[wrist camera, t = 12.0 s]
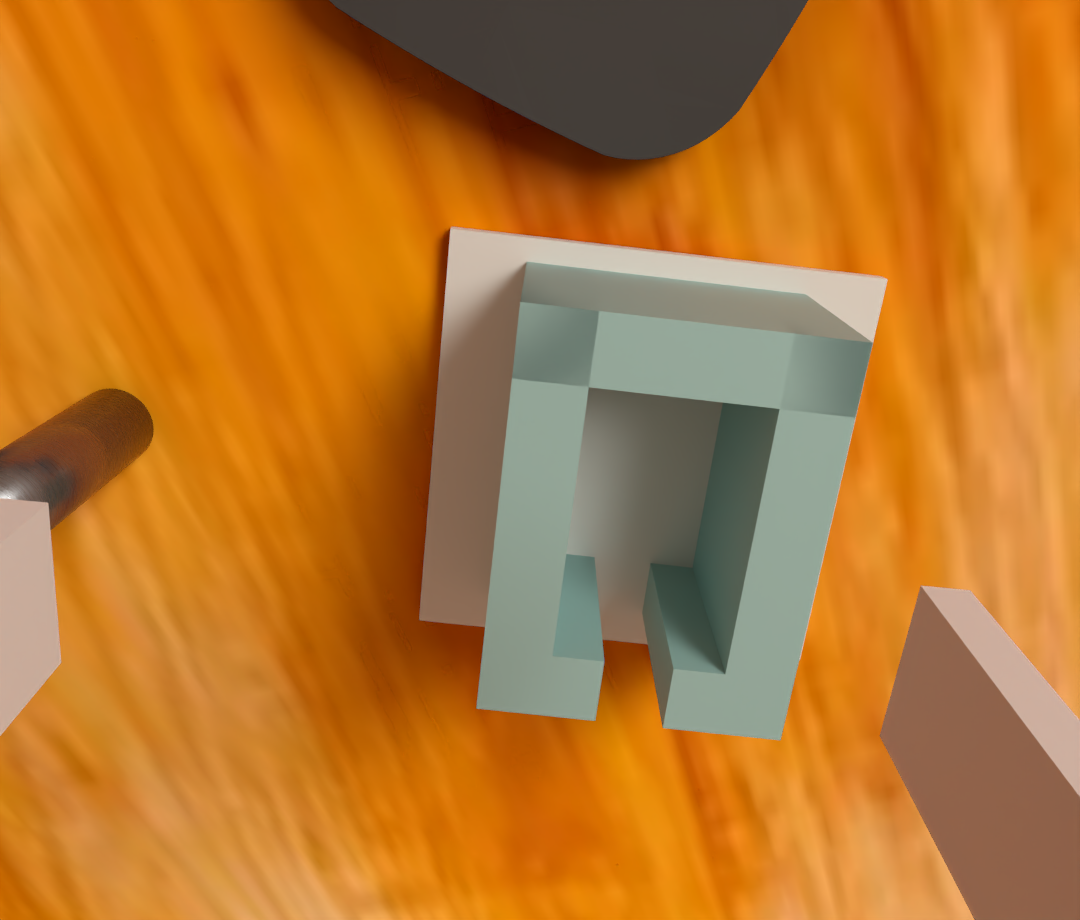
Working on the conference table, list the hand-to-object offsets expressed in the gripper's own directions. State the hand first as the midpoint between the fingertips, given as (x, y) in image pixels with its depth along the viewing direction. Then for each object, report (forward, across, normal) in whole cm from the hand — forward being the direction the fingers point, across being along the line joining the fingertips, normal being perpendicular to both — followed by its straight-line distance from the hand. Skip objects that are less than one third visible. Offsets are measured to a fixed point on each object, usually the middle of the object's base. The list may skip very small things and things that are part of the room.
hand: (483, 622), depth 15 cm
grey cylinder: (+19, -13, -5) cm, 24 cm away
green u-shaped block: (+18, +5, -4) cm, 19 cm away
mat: (+19, +5, -4) cm, 20 cm away
